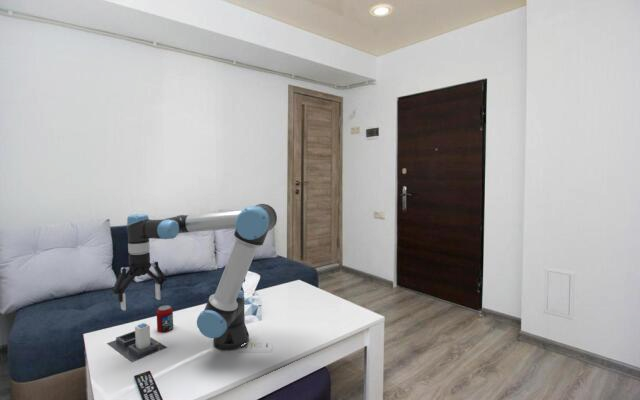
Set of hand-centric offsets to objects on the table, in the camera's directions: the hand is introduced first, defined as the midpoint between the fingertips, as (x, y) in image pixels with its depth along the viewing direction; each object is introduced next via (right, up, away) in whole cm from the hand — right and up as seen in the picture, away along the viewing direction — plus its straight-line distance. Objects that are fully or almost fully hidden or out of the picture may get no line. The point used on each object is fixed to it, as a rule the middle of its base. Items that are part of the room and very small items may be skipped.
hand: (141, 304), depth 135 cm
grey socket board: (-5, -20, +5) cm, 21 cm away
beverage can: (+1, -20, +19) cm, 27 cm away
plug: (0, -19, +1) cm, 19 cm away
